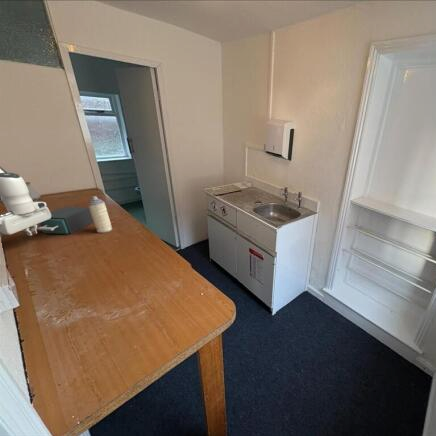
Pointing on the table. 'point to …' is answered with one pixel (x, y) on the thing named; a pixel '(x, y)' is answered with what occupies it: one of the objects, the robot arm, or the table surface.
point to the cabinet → (73, 217)
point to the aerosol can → (100, 215)
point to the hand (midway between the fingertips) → (32, 234)
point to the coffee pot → (33, 192)
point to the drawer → (53, 226)
